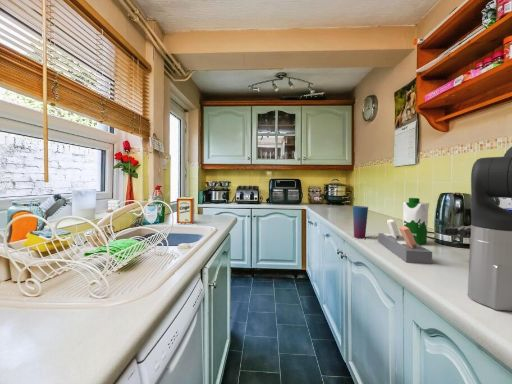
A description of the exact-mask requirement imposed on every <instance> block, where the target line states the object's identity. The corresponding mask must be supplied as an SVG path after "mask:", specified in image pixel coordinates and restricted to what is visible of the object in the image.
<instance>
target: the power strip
mask: <svg viewBox="0 0 512 384" xmlns="http://www.w3.org/2000/svg"><path fill="white" fill-rule="evenodd" d="M377 234H378V237H377V239H378V240H377V242H378V244H380V245H381V246H383V247H384V248H385V249H387V250H388V251H390V252H391V253H392V254H394V255H395V256H397V257H398V258H399V259H401V260H402V261H403V262H404V263H408V264H410V263H411V264H428V265H429V264H431V265H432V264H433V251H431V250H429V248H426V247H424V246H422V245H418V244H417V247H416V248H411V247H409V246H408V245H407V244H406V242H405V240H404V238H403V236H402V234H400V238H397V239H396V238H394V237H392V235H391V232H390V233H388V232H387V233H381V232H379V233H377Z"/></svg>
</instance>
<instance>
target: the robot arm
mask: <svg viewBox="0 0 512 384" xmlns="http://www.w3.org/2000/svg"><path fill="white" fill-rule="evenodd" d="M470 191H471V192H470V193H471V194H470V195H471V197H470V198H471V199H470V200H471V203H470V206H471V207H470V214H471V215H470V217H471V218H470V219H471V222H470V225H467V226H465V225H462V224H461V225H455V226H452V227H442V230H441V231H442V235H446V236H457V237H463V238H465V239H467V238H468V239H470V240H469V261H468V274H467V275H468V277H467V279H468V280H467V296H468V297H469V299H471V300H472V301H474V302H477V303H479V304H480V305H484V306H487V307H489V308H491V309H493V310H498V311H510V312H511V311H512V211H509V210H507V209H505V208H503V207H501V206H500V205H498V204H497V203H496V202H494V199H493V198H503V199H512V146H510V147H509V148H508V149H507V150H506V152H505V153H504V155H503V156H492V157H491V156H490V157H488V156H487V157H480V158H478V159H476V160H475V161H474V163H473V165H472V169H471V174H470Z"/></svg>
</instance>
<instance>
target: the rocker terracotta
mask: <svg viewBox="0 0 512 384" xmlns="http://www.w3.org/2000/svg"><path fill="white" fill-rule="evenodd" d="M398 230H399V233H400V235H401V236H403V238H404V240H405V242H406V244H407V245H408V246H409V247H411V248H416V247H417V244H416V242H415V239H414V237H413V235H412V233H411V231H410V229H409V228H408V227H405V226H403V225H402V226H400V227H398Z"/></svg>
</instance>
